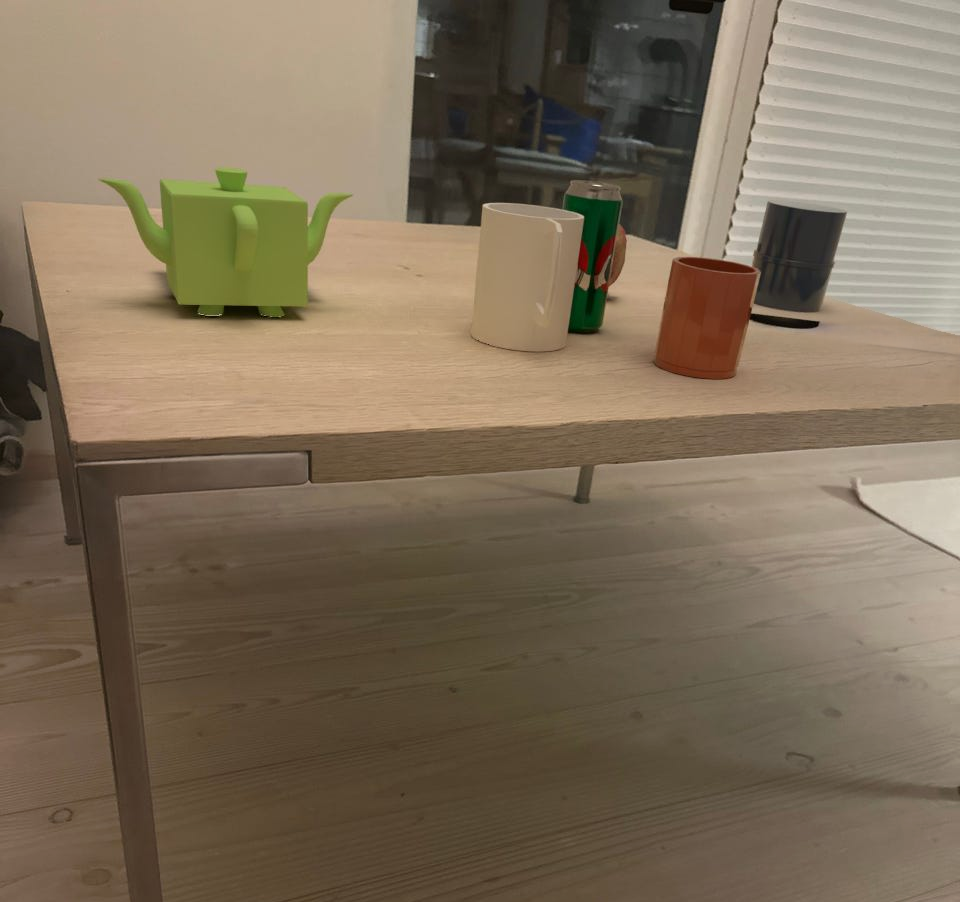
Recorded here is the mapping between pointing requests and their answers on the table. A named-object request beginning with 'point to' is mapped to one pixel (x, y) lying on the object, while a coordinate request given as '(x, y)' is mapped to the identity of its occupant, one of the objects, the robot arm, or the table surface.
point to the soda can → (593, 250)
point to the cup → (525, 276)
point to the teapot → (232, 240)
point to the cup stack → (795, 259)
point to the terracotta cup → (705, 317)
